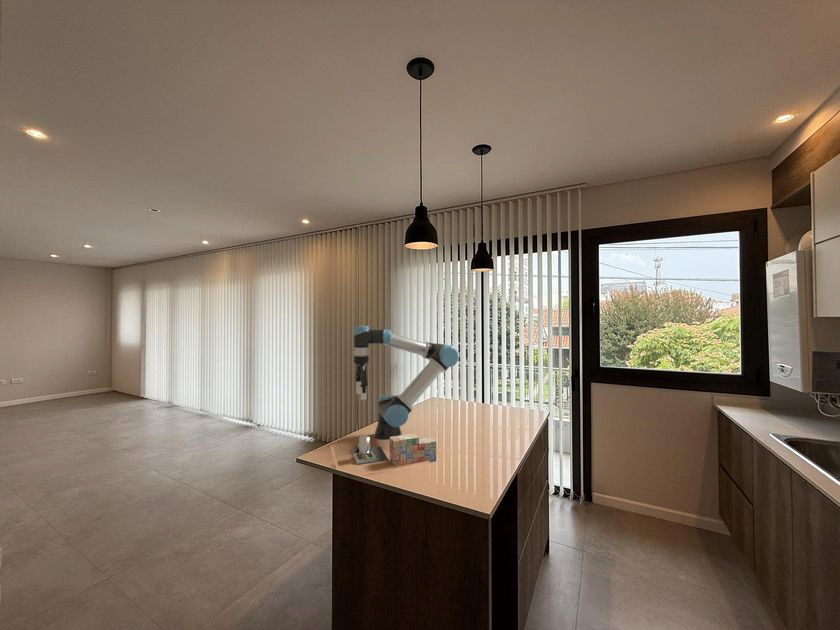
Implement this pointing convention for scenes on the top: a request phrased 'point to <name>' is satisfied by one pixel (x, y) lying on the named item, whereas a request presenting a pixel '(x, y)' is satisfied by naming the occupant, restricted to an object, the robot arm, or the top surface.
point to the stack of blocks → (411, 449)
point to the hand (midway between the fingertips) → (361, 396)
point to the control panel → (375, 456)
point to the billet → (364, 447)
